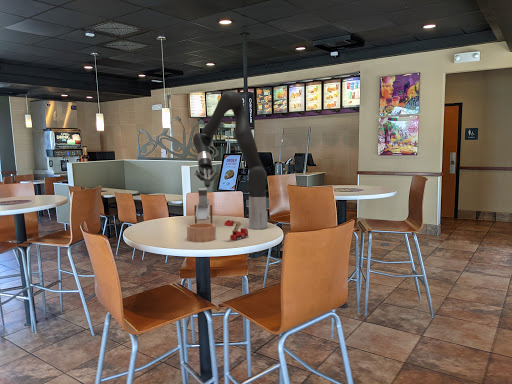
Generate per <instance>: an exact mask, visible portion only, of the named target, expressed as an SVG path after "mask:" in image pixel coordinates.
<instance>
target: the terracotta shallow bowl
mask: <svg viewBox="0 0 512 384" xmlns="http://www.w3.org/2000/svg"><path fill="white" fill-rule="evenodd" d="M216 231H217V226H216V224H215V223H213V224H210V222H207V223H205V222H204V223H203V222H199V223H198V222H197V223H196V224H195V223H192V224H188V225H187V226H186V236H187V238H186V239H187V241H189V242H194V243H206V242H207V243H208V242H211V241H215V240H216V236H217V234H216V233H217V232H216Z"/></svg>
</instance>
